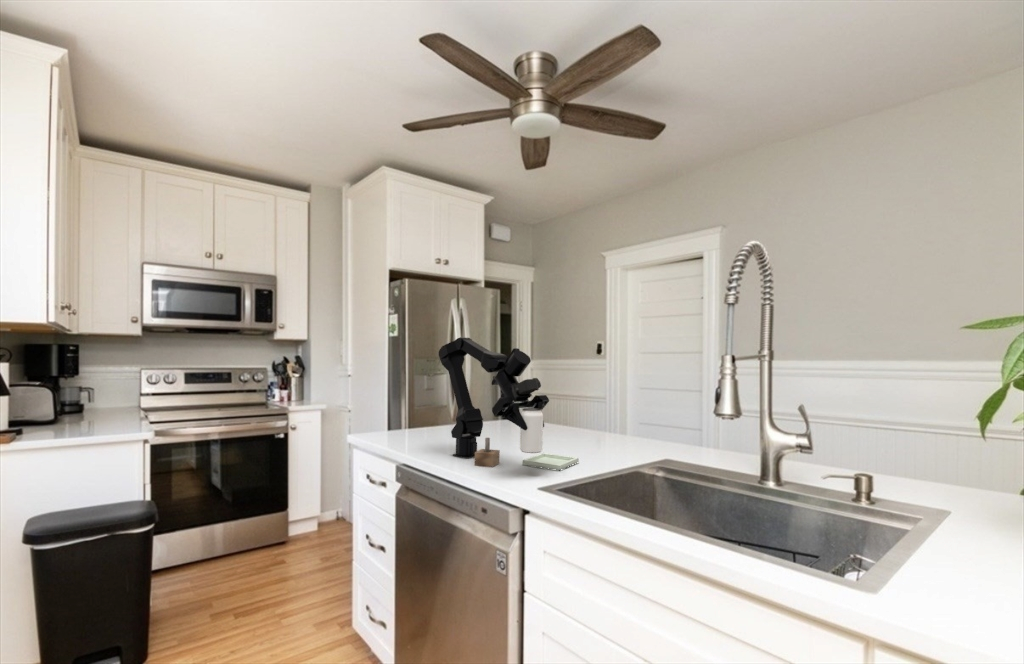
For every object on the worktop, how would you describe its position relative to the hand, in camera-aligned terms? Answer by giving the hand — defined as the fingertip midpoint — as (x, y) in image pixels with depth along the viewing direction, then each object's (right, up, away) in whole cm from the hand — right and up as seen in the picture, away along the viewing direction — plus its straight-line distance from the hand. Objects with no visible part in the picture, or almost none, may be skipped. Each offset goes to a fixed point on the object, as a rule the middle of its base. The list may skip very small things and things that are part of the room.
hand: (534, 428), depth 140 cm
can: (-1, -7, +1) cm, 7 cm away
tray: (+6, -14, +14) cm, 20 cm away
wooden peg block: (-14, -14, +12) cm, 23 cm away
